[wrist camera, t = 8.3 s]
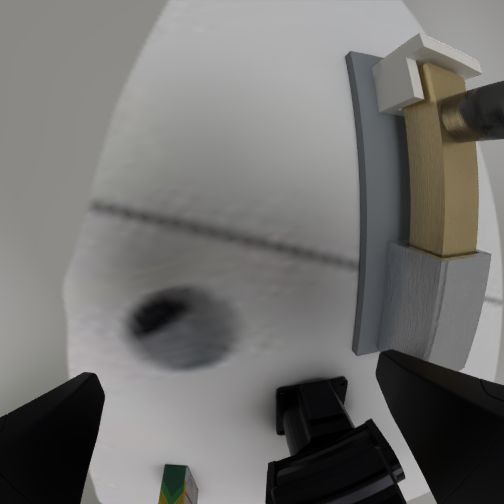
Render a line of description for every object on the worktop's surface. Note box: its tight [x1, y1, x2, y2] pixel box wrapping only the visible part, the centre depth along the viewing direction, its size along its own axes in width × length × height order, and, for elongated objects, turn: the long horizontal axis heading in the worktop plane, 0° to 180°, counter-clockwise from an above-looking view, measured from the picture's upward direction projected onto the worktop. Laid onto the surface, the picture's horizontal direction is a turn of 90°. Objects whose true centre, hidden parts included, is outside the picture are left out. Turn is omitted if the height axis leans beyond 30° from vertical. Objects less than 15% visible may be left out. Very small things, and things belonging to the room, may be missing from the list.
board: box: [345, 51, 411, 356], centre depth 19 cm, size 24×9×1 cm, turn 3°
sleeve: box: [376, 239, 491, 371], centre depth 17 cm, size 9×5×6 cm, turn 3°
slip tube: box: [403, 63, 504, 258], centre depth 12 cm, size 14×4×9 cm, turn 3°
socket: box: [372, 33, 482, 117], centre depth 13 cm, size 4×6×6 cm, turn 93°
